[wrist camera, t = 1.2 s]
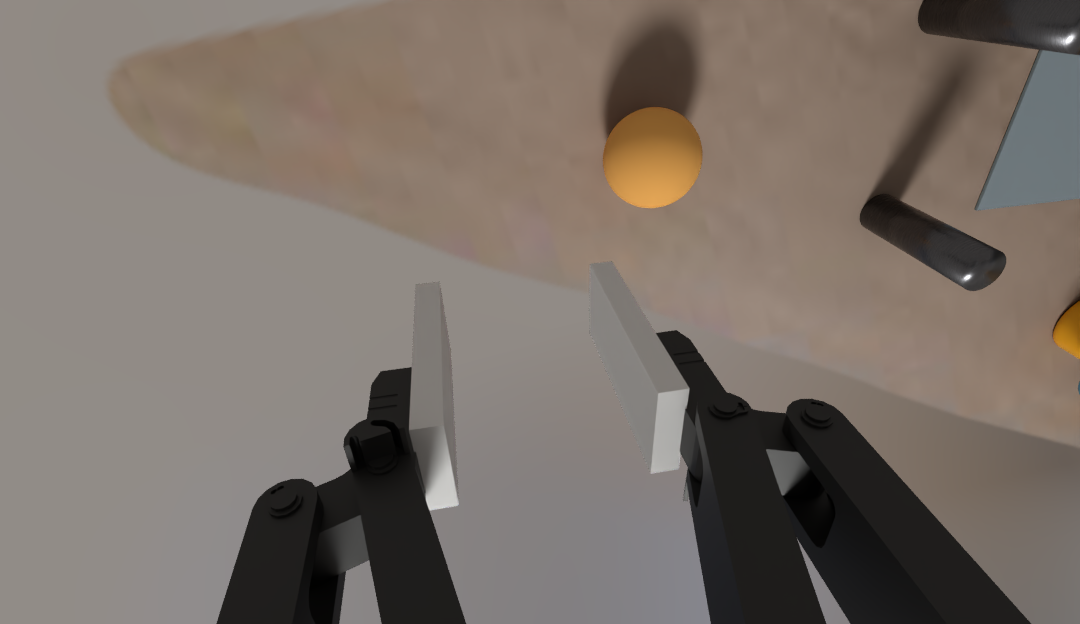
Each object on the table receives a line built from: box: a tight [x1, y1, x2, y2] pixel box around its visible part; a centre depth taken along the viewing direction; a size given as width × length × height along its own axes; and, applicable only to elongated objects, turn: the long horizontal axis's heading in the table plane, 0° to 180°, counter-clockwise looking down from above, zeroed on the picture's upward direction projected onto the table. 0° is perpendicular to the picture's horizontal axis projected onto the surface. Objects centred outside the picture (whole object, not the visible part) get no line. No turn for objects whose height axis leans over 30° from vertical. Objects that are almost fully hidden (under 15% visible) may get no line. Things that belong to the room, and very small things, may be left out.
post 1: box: [918, 0, 1080, 55], centre depth 28 cm, size 3×3×9 cm
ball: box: [603, 107, 702, 208], centre depth 31 cm, size 6×6×6 cm
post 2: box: [860, 194, 1006, 291], centre depth 35 cm, size 3×3×9 cm
